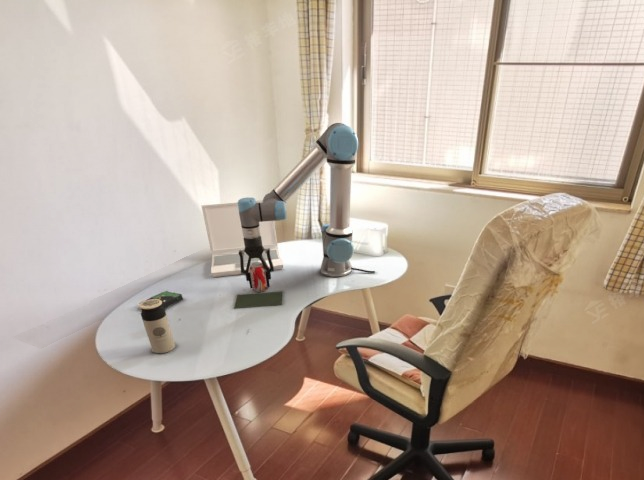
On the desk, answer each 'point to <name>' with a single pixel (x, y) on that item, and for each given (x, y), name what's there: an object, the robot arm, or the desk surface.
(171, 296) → the disk drive
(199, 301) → the desk surface
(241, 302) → the mat
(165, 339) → the travel mug
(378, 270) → the desk surface
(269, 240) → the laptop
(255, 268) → the soda can
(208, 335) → the desk surface
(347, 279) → the desk surface
